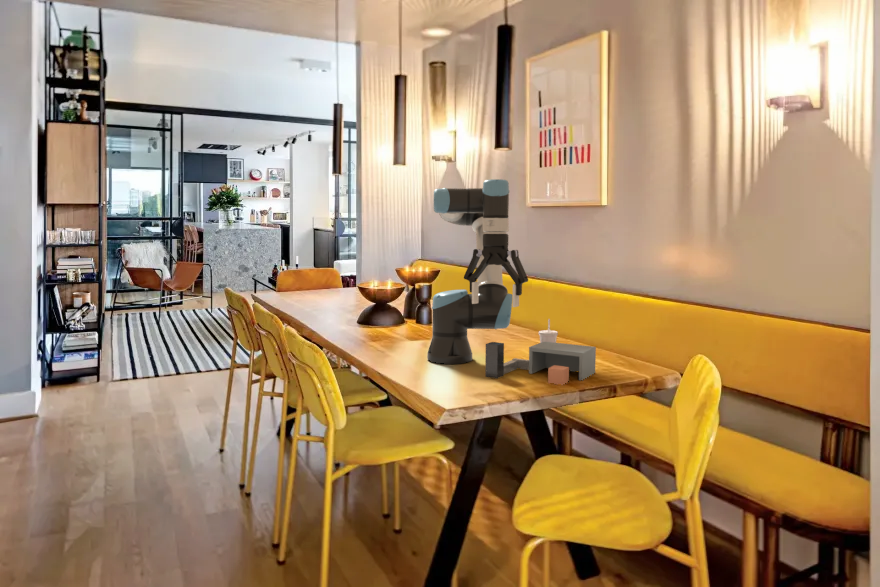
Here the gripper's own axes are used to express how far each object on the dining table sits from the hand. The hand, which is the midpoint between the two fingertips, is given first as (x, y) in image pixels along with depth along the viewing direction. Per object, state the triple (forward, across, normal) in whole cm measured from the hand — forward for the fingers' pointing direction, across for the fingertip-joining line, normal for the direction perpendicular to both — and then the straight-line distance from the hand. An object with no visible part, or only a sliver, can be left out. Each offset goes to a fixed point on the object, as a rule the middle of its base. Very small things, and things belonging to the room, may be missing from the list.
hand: (495, 305), depth 193 cm
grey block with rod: (+22, +2, +6) cm, 23 cm away
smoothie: (+22, +4, +30) cm, 37 cm away
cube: (+22, +19, +3) cm, 29 cm away
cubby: (+22, +16, +14) cm, 30 cm away
